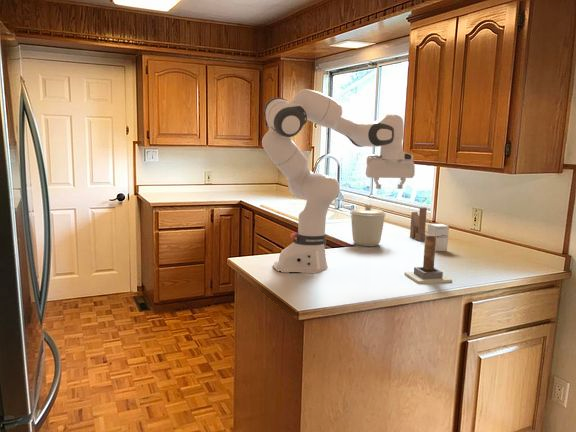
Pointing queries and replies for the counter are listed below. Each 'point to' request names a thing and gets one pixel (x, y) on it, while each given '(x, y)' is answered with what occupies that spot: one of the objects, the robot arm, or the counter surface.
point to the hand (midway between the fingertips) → (389, 188)
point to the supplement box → (439, 235)
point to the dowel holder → (427, 276)
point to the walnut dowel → (429, 253)
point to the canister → (367, 225)
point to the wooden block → (418, 224)
